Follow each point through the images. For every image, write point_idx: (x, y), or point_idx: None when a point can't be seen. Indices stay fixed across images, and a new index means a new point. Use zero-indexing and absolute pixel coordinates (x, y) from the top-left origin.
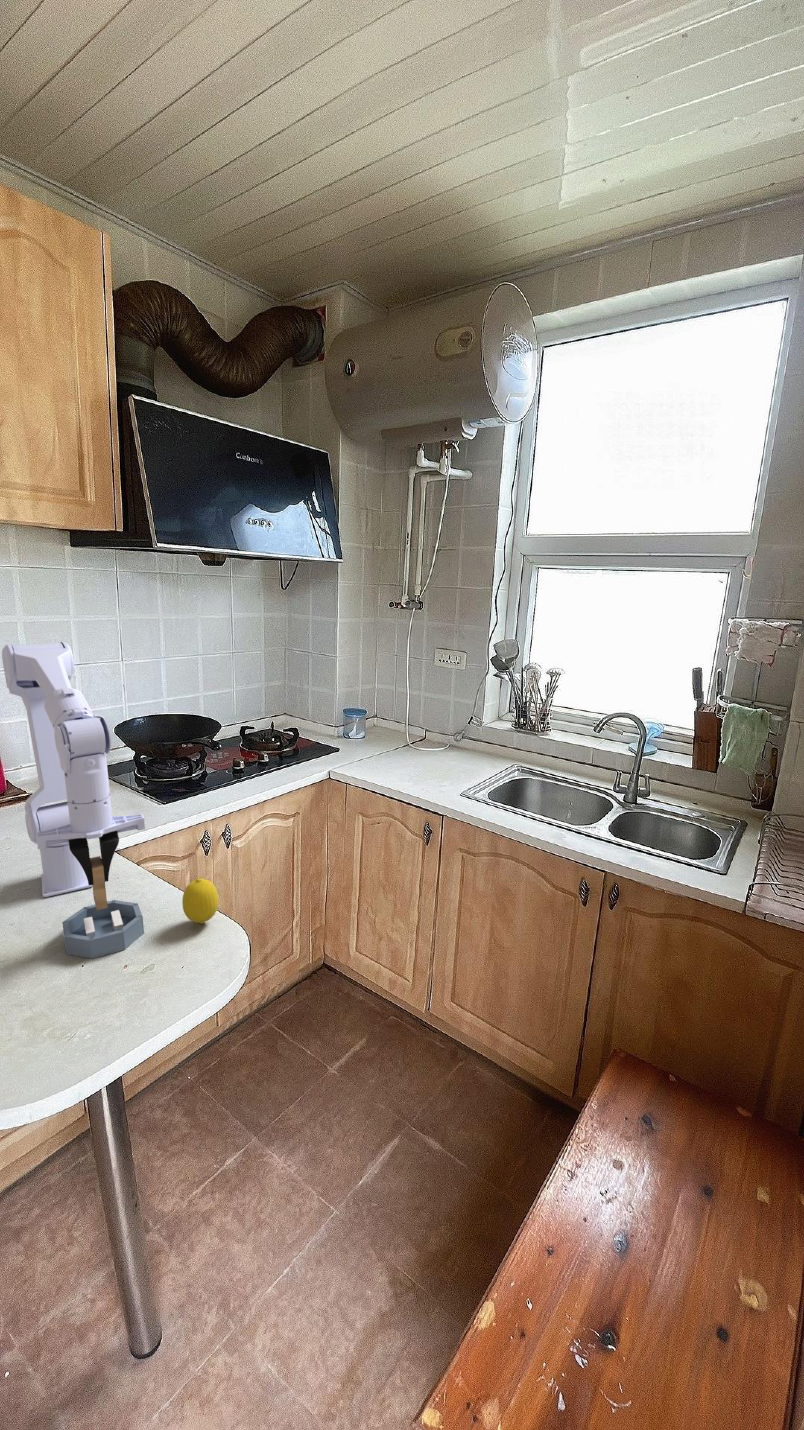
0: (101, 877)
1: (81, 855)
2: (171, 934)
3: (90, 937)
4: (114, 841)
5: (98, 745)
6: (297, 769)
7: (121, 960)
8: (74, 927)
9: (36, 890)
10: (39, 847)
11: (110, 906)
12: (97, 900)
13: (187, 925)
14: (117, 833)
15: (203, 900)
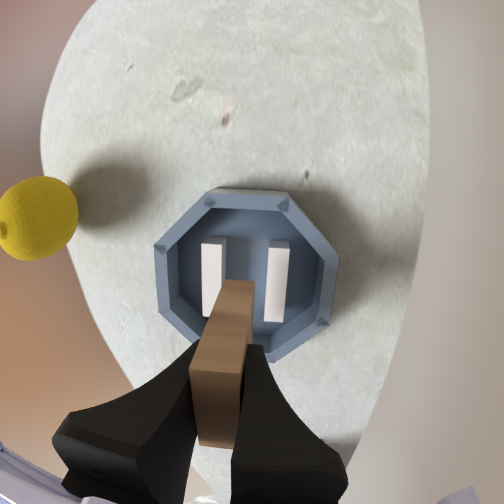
0: (212, 337)
1: (283, 438)
2: (121, 196)
3: (284, 211)
4: (66, 433)
5: None
6: None
7: (229, 148)
8: (302, 316)
9: None
10: (470, 493)
11: None
12: (247, 294)
13: (92, 215)
14: (65, 478)
15: (22, 182)
